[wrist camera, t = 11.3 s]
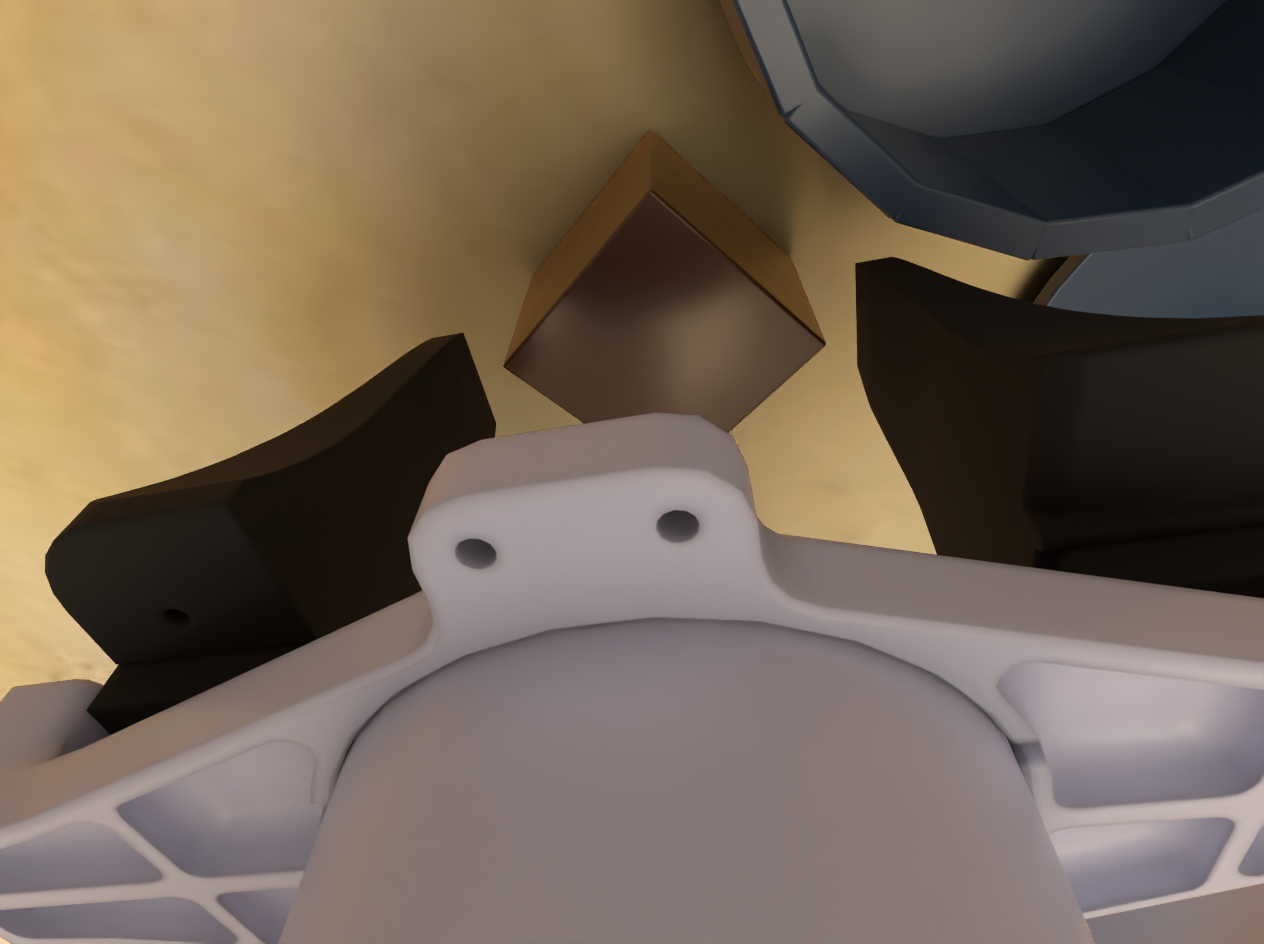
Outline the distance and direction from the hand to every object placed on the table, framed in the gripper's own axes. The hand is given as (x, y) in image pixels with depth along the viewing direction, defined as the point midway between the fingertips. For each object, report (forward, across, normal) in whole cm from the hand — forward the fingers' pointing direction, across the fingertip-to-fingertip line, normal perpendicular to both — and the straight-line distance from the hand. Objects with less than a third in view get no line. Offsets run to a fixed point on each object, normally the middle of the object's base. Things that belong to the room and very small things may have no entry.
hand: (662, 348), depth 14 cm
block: (+4, 0, 0) cm, 4 cm away
